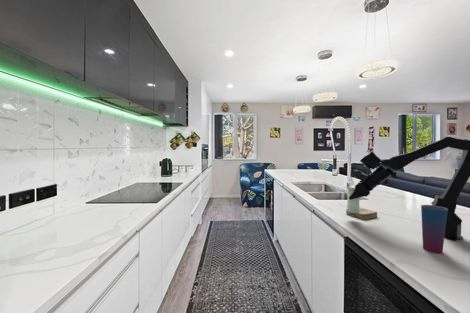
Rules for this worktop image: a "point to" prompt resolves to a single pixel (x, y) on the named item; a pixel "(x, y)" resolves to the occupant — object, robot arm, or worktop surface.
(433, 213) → the cup
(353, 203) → the cream-capped mint cylinder
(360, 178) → the robot arm
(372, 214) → the base
